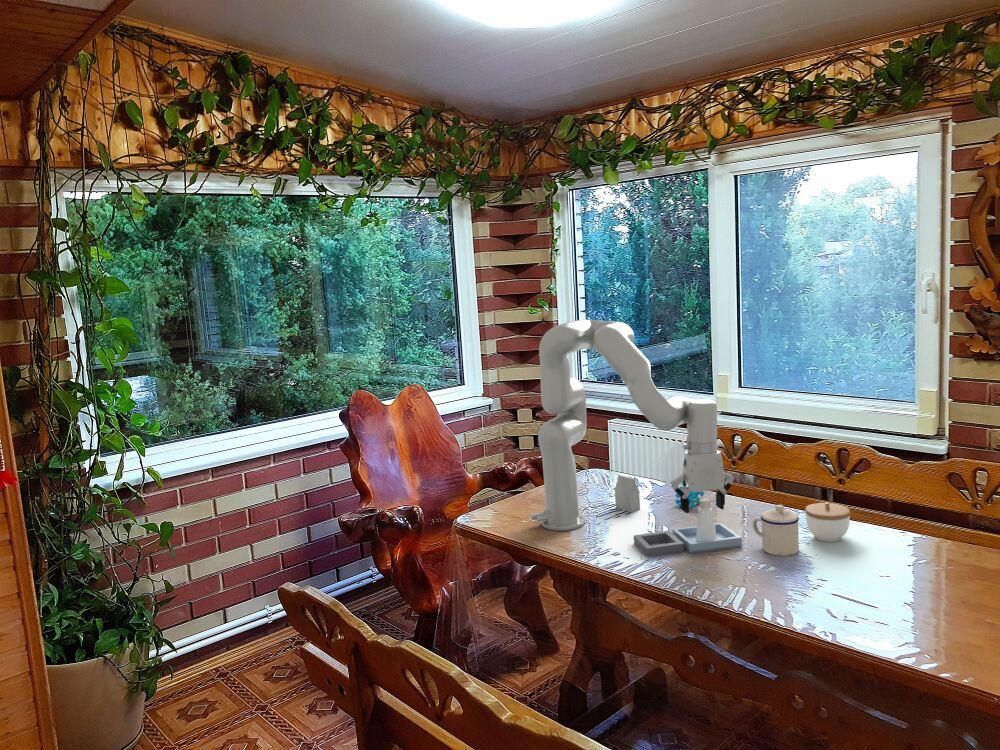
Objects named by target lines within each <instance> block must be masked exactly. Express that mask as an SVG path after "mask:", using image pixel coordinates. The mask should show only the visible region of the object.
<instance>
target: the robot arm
mask: <svg viewBox="0 0 1000 750" xmlns="http://www.w3.org/2000/svg"><path fill="white" fill-rule="evenodd" d="M634 342H635V334H634V331H633V329H632V327H630V325H628V324H626V323H624V322H621V321H608V320H607V321H606V320H596V319H595V320H594V319H578V320H574V321H573V320H572V321H567V322H564V323H561V324H558V325H556V326H553V327H552V328H550V329H549V330H548V331H546V332H545V334H543V336H542V338H541V340H540V342H539V349H538V353H539V355H538V356H539V369H540V370H539V371H540V398H541V399H540V400H541V401H540V402H541V406H542V408H543V410H544V411H545V412H546V413H547V414H550V415H555V416H556V417H553V418H551V419H549V420H547V421H545V423H544V424H542V425H541V426H540V428H539V430H538V435H537V436H538V437H537V439H538V446H539V449H540V450H539V451H540V454H541V461H542V470H543V471H542V472H543V482H544V483H543V485H544V497H545V498H544V499H545V507H543V511H540V512H531V513H530V520H531V521H535V520H536V522H541V526H542V527H543V528H544V529H547V530H550V531H560V532H561V531H570V530H575V529H579V528H580V527H582V526H583V525H584V524H585V523H586V522H585V517H584V516H582V515H580V513H579V512H580V511H579V497H578V495H579V493H578V479H577V477H578V476H577V466H576V465H577V464H576V460H575V456H574V453H573V451H572V447H573V446H575V445H576V444H578V443H580V442H581V440H583V438H584V437H585V435H586V432H587V426H588V425H587V397H586V390H585V388H584V386H583V384H582V382H580V380H578V379H577V378H575V377H573V376H571V366H570V361H569V358H568V355H569V354H571V353H575V352H579V351H583V350H588V349H590V350H596V351H597V353H598V354H599V355H600V356H601V357H602V358H603V360H605V362H606V363H607V364H608V365H609V366H610V367H611V368H612V369H613V370H614V372H615V373H616V374H617V375H618V376H619V377H620V378H621V379H622V380H623V382H624V383H625V385H626V388H627V391H628V392H629V393H628V394H630V397H631V399H632V400H633V403H634V404H635V406H636V408H637V409H638V410H639V412H641V413H642V415H643V416H644V417H645V418H646V419H647V420H648V422H649V423H651V424H652V425H653V426H654V427H655V428H657V429H659V430H660V431H665V432H666V431H673V430H674V429H676V428H677V427H679V426H681V425H684V424H686V429H687V430H686V433H687V434H686V436H687V437H686V438H687V439H686V443H684V444H682V450H686V451H685V453H684V456H683V461H682V462H683V463H682V473H681V475H679V476H677V477H676V478H675V479H673V480H670V486H671V487H672V489H673V491H674V492H675V494H676V493H677V494H678V495H679V496H680V499H679V500H680V503H681V508H680V509H681V510H682V511H683V512H684V513H686V514H689V513H690V504H689V499H688V498H687V497H688V495H689V494H690V493H691V492H702V491H703V492H711V491H716V493H715V506H716V507H717V508H718V509H720V510H724V507H725V504H726V494H727V493H728V491H729V490H730V489H731V487H732V484H733V482H734V480H735V476H734V475H731V474H730V473H727V472H725V471H724V463H723V462H724V461H723V458H722V453H721V450H718V406H717V403H716V402H715V400H712V399H708V398H696V399H695V398H689V397H685V396H681V395H680V396H679V395H675V396H674V395H673V396H670V397H668V398H665V396H663V394H662V393H661V392H660V391H659V389H657V387H656V385H655V384H654V381H653V380H652V376H651V367H652V366H651V363H650V361H649V359H648V358H647V357H646V356H645V355H644V354H643V353H642V352H641V351H640V350H639V349H638V348H637V347H636V345H635V344H634ZM681 483H682V484H681ZM680 484H681V485H682V487H683V488H682V489H681V490H680V489H679V488H680V486H679V485H680Z"/></svg>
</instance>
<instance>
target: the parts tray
mask: <svg viewBox="0 0 1000 750" xmlns="http://www.w3.org/2000/svg"><path fill="white" fill-rule="evenodd" d="M714 523H715V530H716V537H717V539H715V540H708V541H701V542H699V541H697V540H696V533H697V525H693V526H684V527H677V528H672V529H671V531H672V532H671V533H672V534H673V535H675V536H676V537H677V538H678V539H679V540H680V541H682V542H683V543H684V550H686V551H687V552H688V553H690V555H692V554H693V555H694V554H700V553H705V552H711V551H712V552H714V551H720V550H726V549H727V550H728V549H735V548H741V547H743V538H742V536H741V535H739V534H738V533H736V532H735V531H733V530H732V529H731V528H729V527H727V526H726V525H725V524H724V523H722V522H714Z"/></svg>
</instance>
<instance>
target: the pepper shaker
mask: <svg viewBox="0 0 1000 750" xmlns="http://www.w3.org/2000/svg"><path fill="white" fill-rule="evenodd" d="M696 519H697V521H696V522H697V523H696V526H697V533H696V540H697V541H699V542H701V541H708V540H715V539H717V537H716V530H715V523H716V522H715V516H714V512H713V508H711V499H709V498H702V499H701V500H700V505H699V508H698V509H697V518H696Z"/></svg>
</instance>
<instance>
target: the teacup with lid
mask: <svg viewBox="0 0 1000 750" xmlns="http://www.w3.org/2000/svg"><path fill="white" fill-rule="evenodd" d="M799 520H800V517H799V514H797V513H796V512H794V511H791V510H788V509H787V508H784V505H783V504H776V505H775V506H774V508H771V509H769V510H765V511H763V512H762V513H761V514H760V517H756V518H754V519H753V520H752V529H753V531H754V533H755V534H756V535H757V536H759V537H761V541H762V544H761V545H762V549H763V551H764V552H766V553H767V554H770V555H773V556H779V557H780V556H781V557H785V556H792V555H795V554H797V553H798V552H799V544H800V543H799ZM757 522H761V531H760V530H759V529H758V525H757Z"/></svg>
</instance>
